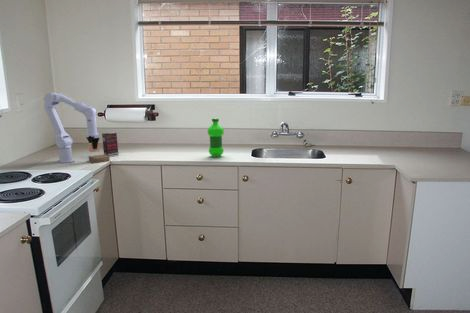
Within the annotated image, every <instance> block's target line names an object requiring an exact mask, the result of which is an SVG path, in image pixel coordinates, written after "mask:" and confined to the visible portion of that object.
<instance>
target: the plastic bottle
mask: <svg viewBox="0 0 470 313" xmlns="http://www.w3.org/2000/svg"><path fill="white" fill-rule="evenodd" d="M211 122H212V124H211V125H210V126H209V127H208V128H207V135H208V136H209V147H208V153H209V155H210V156H212V157H213V158H220V157H222V155H223V154H224V152H225V151H224V147H223V135H224V134H225V133H224V132H225V131H224V130H225V129H224V128H223V127H222V126H221V125H220V124H219V122H220V120H219V118H218V117H217V118H216V117H215V118H212V119H211Z"/></svg>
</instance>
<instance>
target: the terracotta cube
mask: <svg viewBox="0 0 470 313" xmlns="http://www.w3.org/2000/svg"><path fill="white" fill-rule="evenodd" d="M87 145H88V146H87V149H88V152H90V153H94V152H100V147H99V146H100V145H99V143H98V146H97V149H93V146H92V143H89V142H88V143H87Z"/></svg>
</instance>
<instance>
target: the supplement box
mask: <svg viewBox="0 0 470 313" xmlns="http://www.w3.org/2000/svg"><path fill="white" fill-rule="evenodd" d="M117 135H118V134H117V132H116V131H115V132H114V131H113V132H105V133H102V134H101V136H102V146H103V147H102V150H103V154H104V155H107V156H112V157H114V156H113V155H118V156H119V146H118V136H117Z"/></svg>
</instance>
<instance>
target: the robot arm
mask: <svg viewBox="0 0 470 313" xmlns="http://www.w3.org/2000/svg"><path fill="white" fill-rule="evenodd" d="M43 100H44V109H45V113H46V115H47V116H48V118H49V121H50V124H51V126H52V128H53V130H54V132H55V138H54V139H55V145H56V146H57V148H58V159H57V161H58V162H59V164H65V163H67V164H68V163H73V162H75V160H73V153H72V145H73V143H74V140H73V138H72V137H71V136H70V135H69V133H67V132H66V131H65V128H64V126H63V124H62V121H61V119H60V117H59V114H58V113H57V110H56V108H57V106H58V105H59V104H60V103H61V102H62V103H64V104H66V105H68V106H70V107H73V108H74V110H75V111H77V112H79V113H81V114H83V115H84V117H85V120H86V129H87V131H86V132H87V136H86V137H85V138H86V140H87V141H88V143H92V146H93V149H97V146H98V144H99V141H100V139H101V138H100V137H99V135H100V132H98V126H97V115H98V110H97V109H96V108H95V107H94V106H91V105H87V104H85V103H84V102H83V101H75V100H74V99H71V98H69V97H67V96H66V95H64V94H63V93H60V92H46V93H45V94H44V97H43Z"/></svg>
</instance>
